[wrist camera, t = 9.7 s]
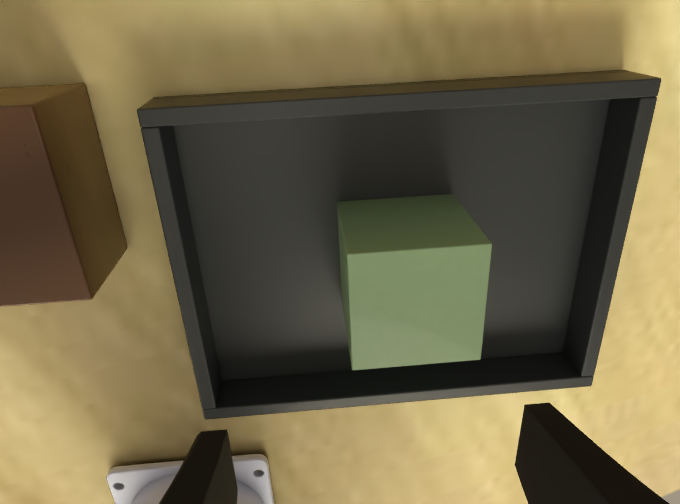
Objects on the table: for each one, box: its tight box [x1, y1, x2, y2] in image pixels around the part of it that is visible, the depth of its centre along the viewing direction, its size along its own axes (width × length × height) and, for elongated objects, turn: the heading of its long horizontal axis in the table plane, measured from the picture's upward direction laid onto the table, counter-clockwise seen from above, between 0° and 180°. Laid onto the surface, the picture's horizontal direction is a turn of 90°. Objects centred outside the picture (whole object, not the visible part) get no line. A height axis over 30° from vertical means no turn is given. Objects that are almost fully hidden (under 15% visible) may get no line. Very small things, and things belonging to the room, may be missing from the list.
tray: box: [137, 70, 661, 419], centre depth 20 cm, size 13×17×2 cm
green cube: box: [337, 194, 492, 370], centre depth 19 cm, size 5×5×5 cm
